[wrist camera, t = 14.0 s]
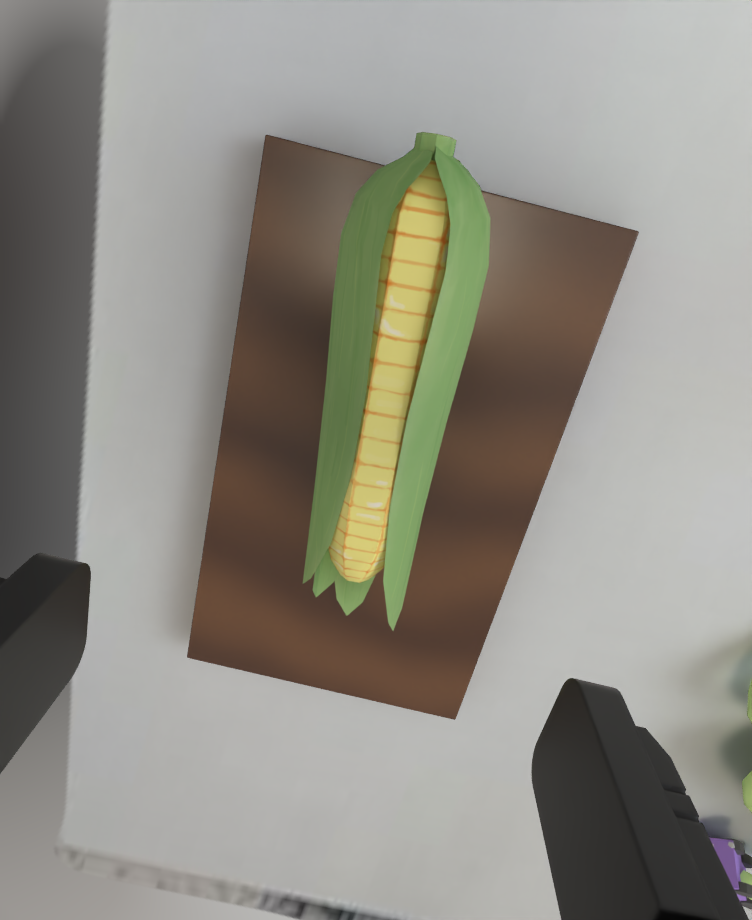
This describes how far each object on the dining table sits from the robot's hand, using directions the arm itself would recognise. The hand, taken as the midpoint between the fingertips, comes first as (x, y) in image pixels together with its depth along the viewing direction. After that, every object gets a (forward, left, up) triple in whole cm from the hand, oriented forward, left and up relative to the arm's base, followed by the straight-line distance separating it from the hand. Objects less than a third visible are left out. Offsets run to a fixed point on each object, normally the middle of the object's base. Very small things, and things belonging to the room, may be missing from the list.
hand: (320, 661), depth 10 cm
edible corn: (+1, 0, -16) cm, 16 cm away
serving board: (+2, -3, -18) cm, 18 cm away
